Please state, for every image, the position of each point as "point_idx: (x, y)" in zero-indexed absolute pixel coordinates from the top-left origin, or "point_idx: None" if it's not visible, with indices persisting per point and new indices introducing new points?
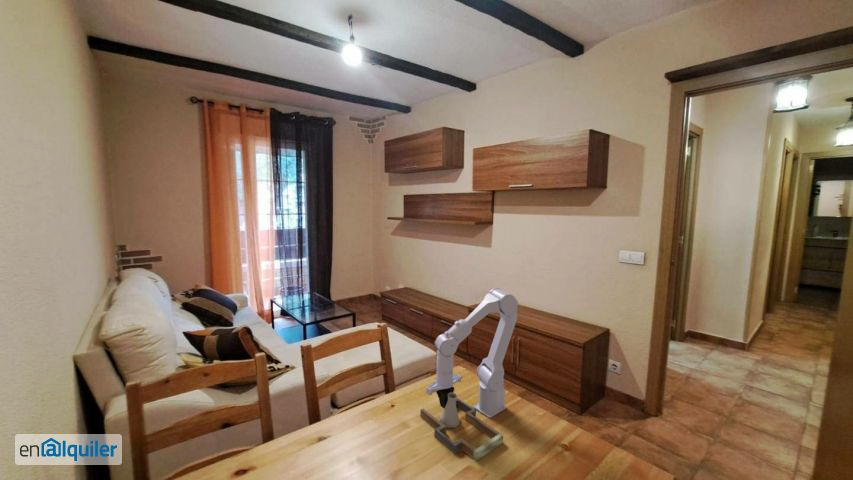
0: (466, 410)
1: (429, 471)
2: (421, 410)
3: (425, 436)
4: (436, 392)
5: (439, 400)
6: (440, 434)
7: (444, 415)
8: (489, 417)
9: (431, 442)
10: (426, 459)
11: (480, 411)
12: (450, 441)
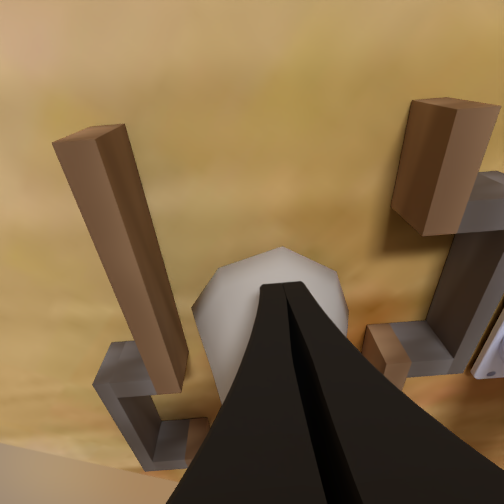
0: (446, 292)
1: (15, 443)
2: (60, 163)
3: (57, 320)
4: (198, 455)
5: (253, 328)
6: (112, 415)
7: (213, 367)
8: (471, 373)
9: (77, 361)
10: (17, 411)
11: (496, 330)
12: (139, 454)
